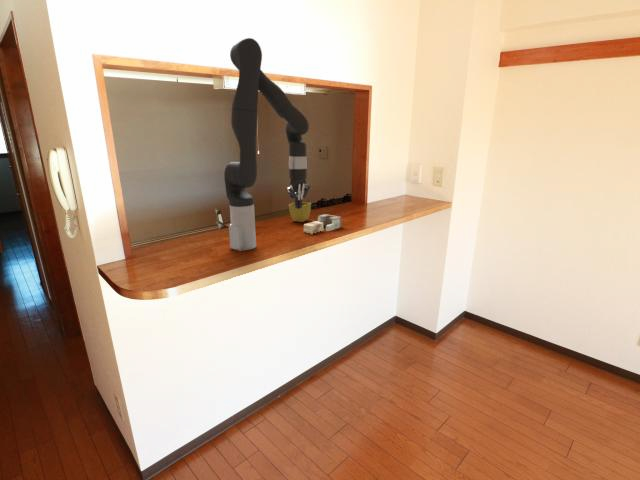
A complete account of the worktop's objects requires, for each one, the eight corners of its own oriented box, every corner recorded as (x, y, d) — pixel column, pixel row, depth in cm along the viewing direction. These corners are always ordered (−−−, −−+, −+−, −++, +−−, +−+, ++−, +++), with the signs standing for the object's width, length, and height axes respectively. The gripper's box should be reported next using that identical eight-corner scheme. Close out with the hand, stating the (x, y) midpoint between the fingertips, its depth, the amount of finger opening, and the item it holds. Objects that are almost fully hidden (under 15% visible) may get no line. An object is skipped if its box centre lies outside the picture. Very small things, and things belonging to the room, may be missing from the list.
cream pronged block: (311, 234, 164) (311, 226, 163) (303, 232, 167) (303, 224, 166) (323, 231, 170) (323, 222, 168) (315, 229, 173) (315, 221, 172)
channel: (328, 231, 168) (328, 220, 167) (311, 227, 175) (311, 217, 173) (341, 227, 176) (341, 216, 174) (325, 223, 182) (325, 213, 181)
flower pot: (288, 221, 187) (288, 204, 184) (297, 218, 194) (297, 201, 191) (303, 223, 183) (303, 205, 180) (311, 220, 190) (311, 202, 188)
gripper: (302, 165, 159) (302, 205, 164) (280, 167, 150) (281, 209, 155) (315, 166, 155) (315, 207, 160) (293, 169, 145) (294, 211, 150)
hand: (298, 208), depth 157 cm, fingers closed
